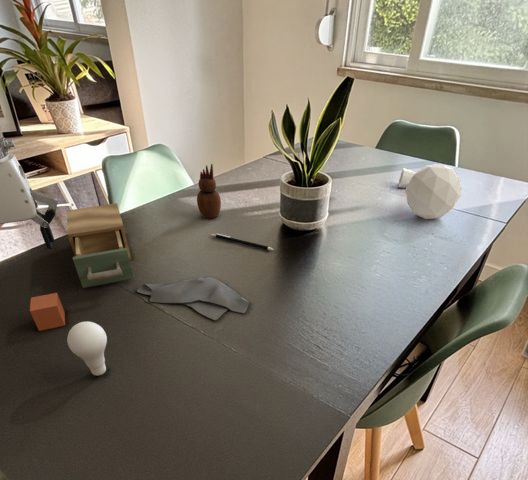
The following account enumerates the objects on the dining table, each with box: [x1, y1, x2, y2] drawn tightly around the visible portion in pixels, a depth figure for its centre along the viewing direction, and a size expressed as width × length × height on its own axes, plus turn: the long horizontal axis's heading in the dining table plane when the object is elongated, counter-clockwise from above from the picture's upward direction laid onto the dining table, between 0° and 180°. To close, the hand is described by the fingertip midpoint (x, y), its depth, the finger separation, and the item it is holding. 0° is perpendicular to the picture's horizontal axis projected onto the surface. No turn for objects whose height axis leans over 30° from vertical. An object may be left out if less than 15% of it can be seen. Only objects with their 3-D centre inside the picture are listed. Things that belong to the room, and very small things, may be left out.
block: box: [29, 292, 66, 332], centre depth 87 cm, size 5×5×5 cm
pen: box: [211, 233, 275, 251], centre depth 112 cm, size 1×19×1 cm, turn 62°
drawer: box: [72, 230, 135, 289], centre depth 98 cm, size 18×11×7 cm, turn 20°
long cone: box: [397, 168, 418, 188], centre depth 139 cm, size 6×6×19 cm
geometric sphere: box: [405, 162, 462, 220], centre depth 120 cm, size 14×15×15 cm
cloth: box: [136, 276, 250, 321], centre depth 94 cm, size 26×14×2 cm, turn 63°
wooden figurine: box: [196, 163, 222, 219], centre depth 122 cm, size 7×6×15 cm
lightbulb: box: [66, 321, 108, 377], centre depth 73 cm, size 6×6×11 cm
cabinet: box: [66, 203, 133, 261], centre depth 108 cm, size 15×13×9 cm
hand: (21, 250), depth 78 cm, fingers open, 9 cm apart
